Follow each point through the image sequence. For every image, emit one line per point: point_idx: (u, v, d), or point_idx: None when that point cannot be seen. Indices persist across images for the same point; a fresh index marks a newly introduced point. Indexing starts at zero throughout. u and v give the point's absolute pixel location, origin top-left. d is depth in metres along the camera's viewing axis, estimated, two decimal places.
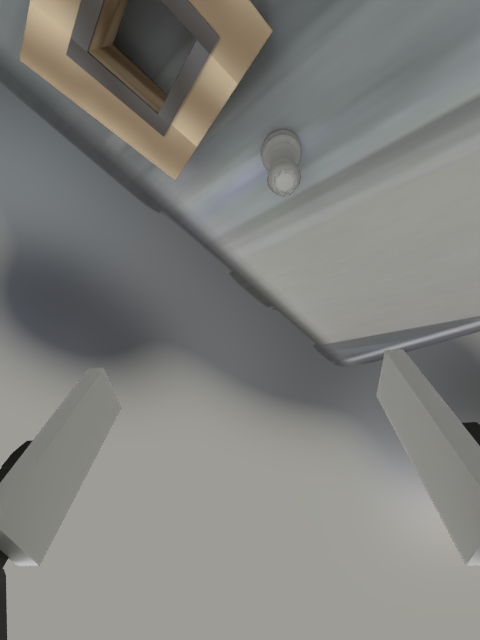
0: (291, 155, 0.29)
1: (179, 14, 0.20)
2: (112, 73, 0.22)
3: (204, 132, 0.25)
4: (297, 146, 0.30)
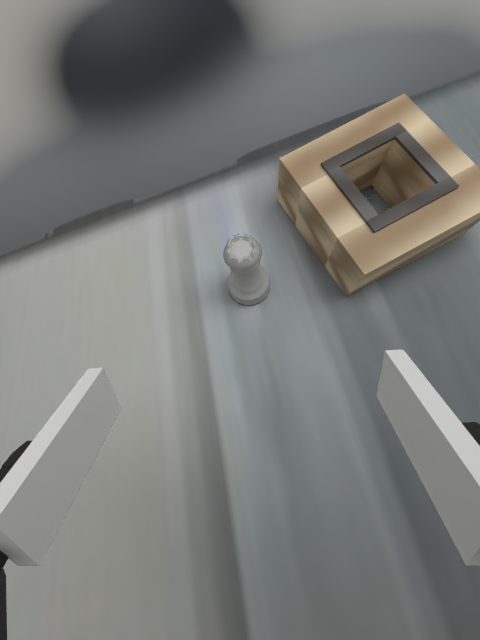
0: (252, 280, 0.26)
1: (397, 208, 0.24)
2: (377, 147, 0.26)
3: (310, 198, 0.25)
4: (252, 296, 0.28)
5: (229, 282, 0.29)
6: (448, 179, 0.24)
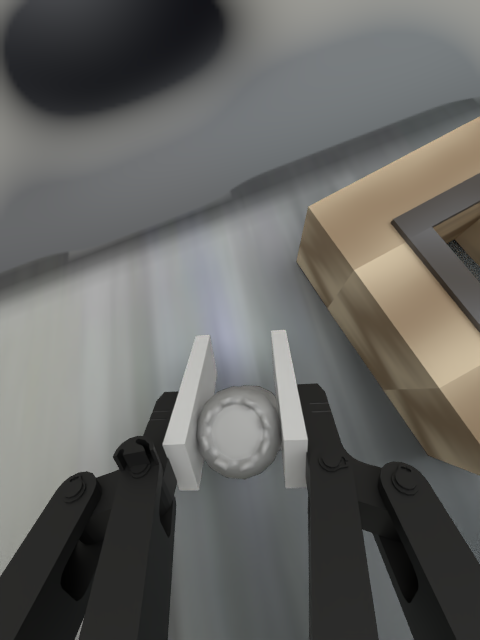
0: None
1: None
2: None
3: (374, 294, 0.12)
4: None
5: None
6: None
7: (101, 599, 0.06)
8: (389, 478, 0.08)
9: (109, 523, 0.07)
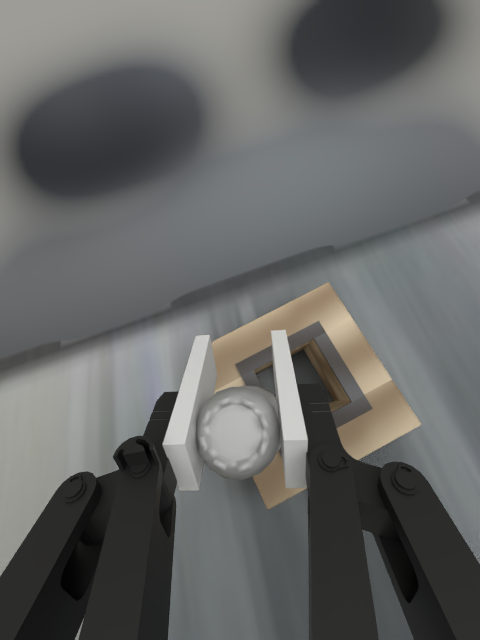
0: None
1: None
2: (294, 348, 0.25)
3: None
4: None
5: None
6: (362, 399, 0.23)
7: (101, 599, 0.06)
8: (389, 478, 0.08)
9: (109, 523, 0.07)
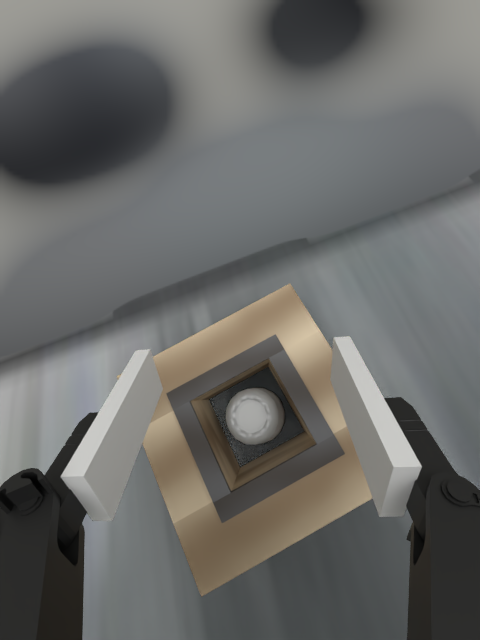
0: None
1: (256, 483, 0.17)
2: (243, 371, 0.19)
3: (147, 450, 0.18)
4: None
5: None
6: (331, 440, 0.17)
7: None
8: None
9: None
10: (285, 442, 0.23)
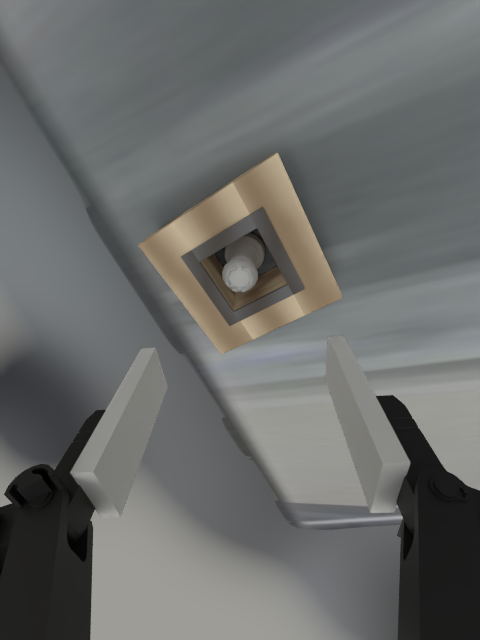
0: (253, 257, 0.27)
1: (282, 268, 0.25)
2: (211, 278, 0.26)
3: (264, 333, 0.29)
4: (261, 251, 0.29)
5: None
6: (254, 217, 0.23)
7: None
8: None
9: (5, 565, 0.07)
10: None
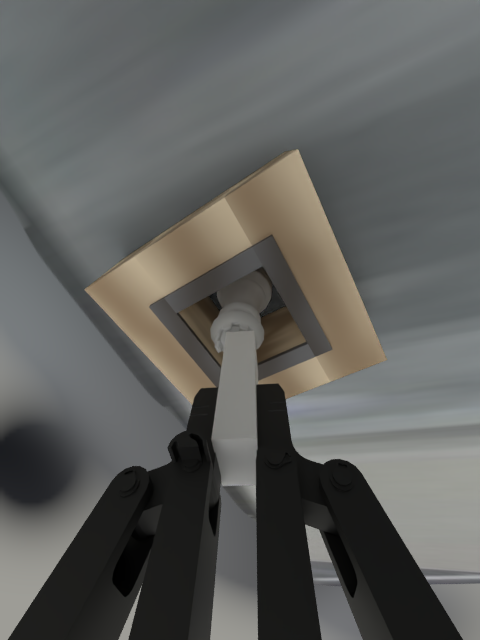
0: (257, 300, 0.19)
1: (300, 322, 0.17)
2: (195, 334, 0.18)
3: None
4: (267, 289, 0.21)
5: None
6: (258, 250, 0.15)
7: (153, 590, 0.06)
8: (328, 477, 0.08)
9: (161, 513, 0.08)
10: None
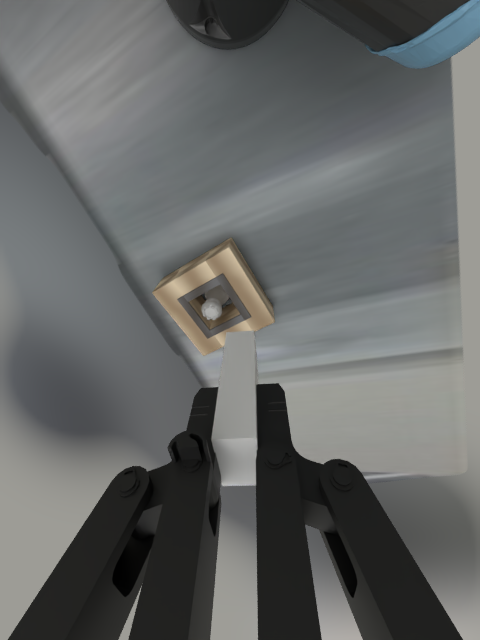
0: (221, 297, 0.45)
1: (237, 305, 0.43)
2: (195, 310, 0.44)
3: None
4: None
5: None
6: (218, 278, 0.41)
7: (153, 590, 0.06)
8: (328, 477, 0.08)
9: (161, 514, 0.08)
10: None
